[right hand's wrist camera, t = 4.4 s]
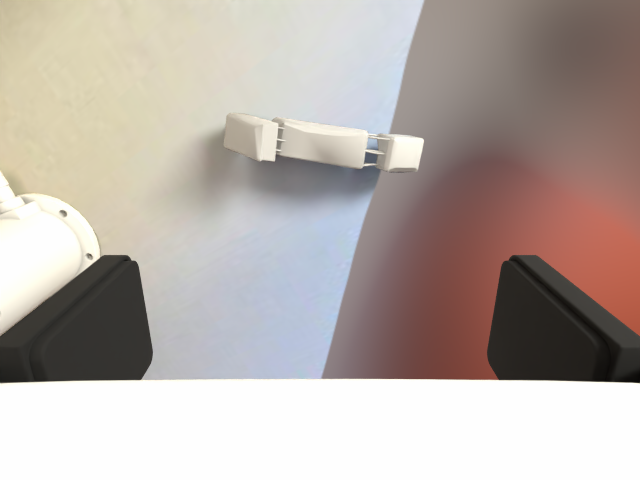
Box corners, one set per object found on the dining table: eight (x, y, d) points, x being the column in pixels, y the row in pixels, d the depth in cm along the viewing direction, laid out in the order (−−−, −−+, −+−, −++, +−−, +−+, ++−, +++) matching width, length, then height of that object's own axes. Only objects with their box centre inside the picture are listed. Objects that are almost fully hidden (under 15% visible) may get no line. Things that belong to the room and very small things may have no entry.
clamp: (225, 146, 44) (217, 159, 38) (227, 110, 43) (218, 116, 36) (407, 167, 47) (427, 182, 40) (414, 133, 45) (436, 143, 39)
